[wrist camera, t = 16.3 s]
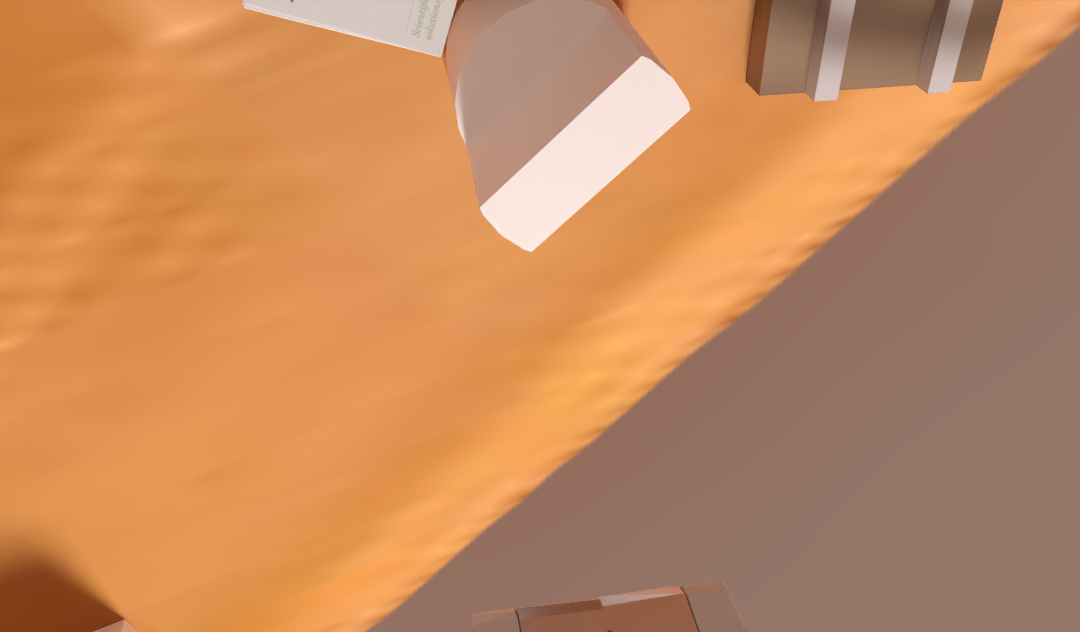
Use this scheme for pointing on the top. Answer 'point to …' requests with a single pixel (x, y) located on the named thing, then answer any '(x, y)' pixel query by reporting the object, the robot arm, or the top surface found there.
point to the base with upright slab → (552, 105)
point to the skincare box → (372, 19)
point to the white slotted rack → (117, 627)
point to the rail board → (868, 44)
